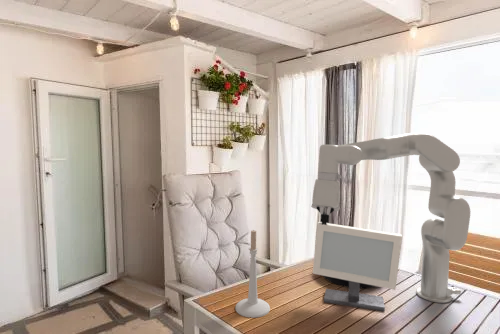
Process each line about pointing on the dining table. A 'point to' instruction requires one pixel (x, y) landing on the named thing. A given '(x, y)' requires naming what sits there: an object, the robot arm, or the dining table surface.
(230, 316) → the dining table surface
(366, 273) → the picture frame
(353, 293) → the frame stand
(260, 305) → the candlestick
